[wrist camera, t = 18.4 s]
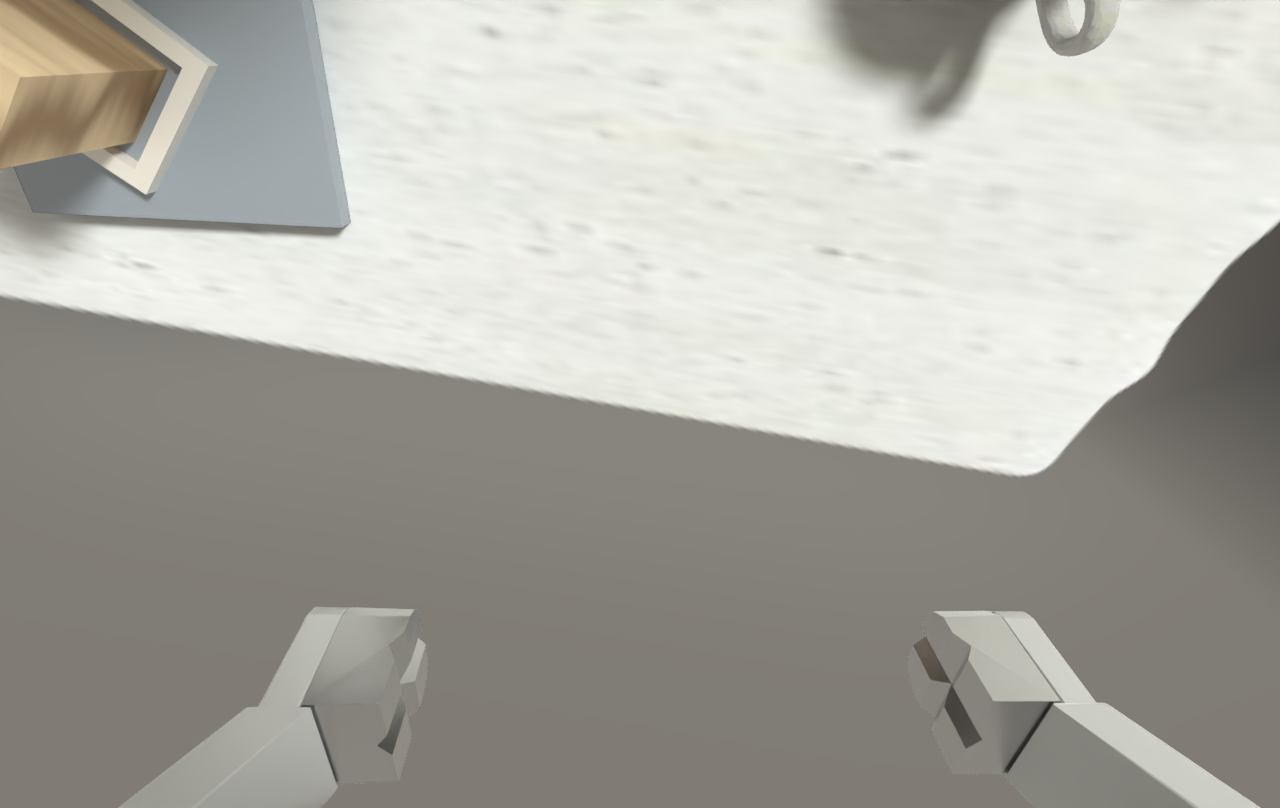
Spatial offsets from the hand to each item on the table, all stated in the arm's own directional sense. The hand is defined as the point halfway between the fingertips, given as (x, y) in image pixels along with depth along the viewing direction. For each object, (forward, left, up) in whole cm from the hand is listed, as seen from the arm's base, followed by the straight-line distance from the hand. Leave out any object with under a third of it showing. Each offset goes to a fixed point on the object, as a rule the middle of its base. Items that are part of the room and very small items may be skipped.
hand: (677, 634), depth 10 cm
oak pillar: (-5, -29, -34) cm, 45 cm away
